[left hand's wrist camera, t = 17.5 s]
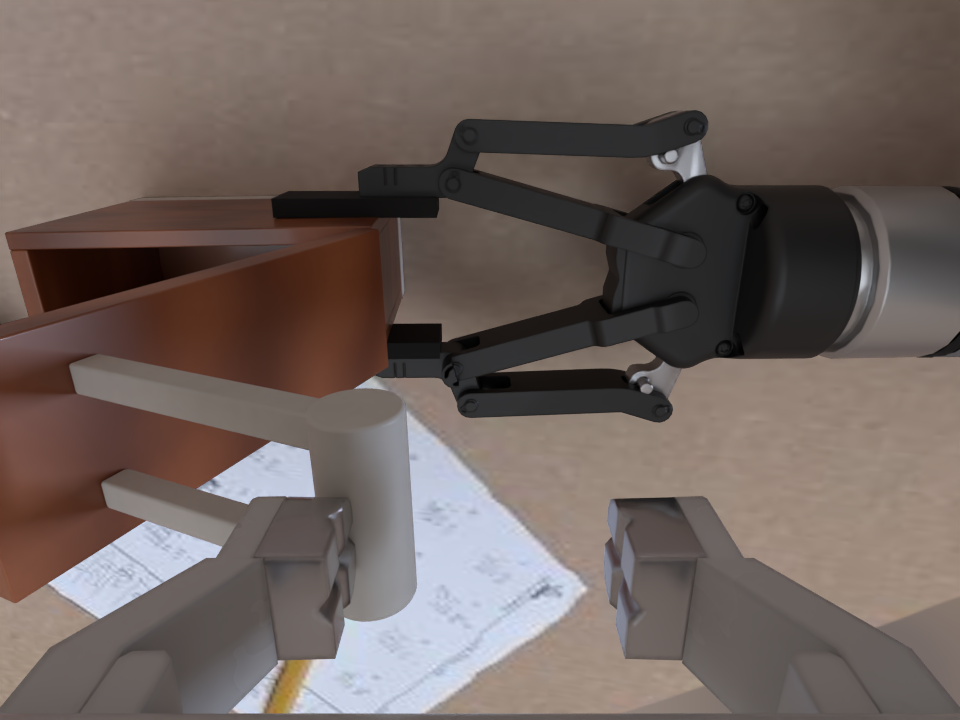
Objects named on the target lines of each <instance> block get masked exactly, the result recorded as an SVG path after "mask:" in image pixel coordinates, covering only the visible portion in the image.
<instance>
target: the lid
mask: <svg viewBox="0 0 960 720" xmlns="http://www.w3.org/2000/svg"><path fill="white" fill-rule="evenodd" d="M387 367H388V352H387V338H386V324H385V310H384V296H383V282H382V268H381V254H380V240H379V230H378V229H367V228H357V229H354V230H350V231H346V232H342V233H339V234H335V235H331V236H328V237H324V238H320V239H316V240H313V241H309V242H305V243H302V244H298V245H294V246H290V247H287V248H283V249H279V250H276V251H272V252H268V253H265V254H261V255H257V256H253V257H250V258H246V259H242V260H239V261H235V262H231V263H227V264H224V265H220V266H216V267H213V268H209V269H205V270H201V271H198V272H194V273H190V274H187V275H183V276H179V277H175V278H172V279H168V280H164V281H161V282H157V283H153V284H149V285H146V286H142V287H138V288H135V289H131V290H127V291H123V292H120V293H116V294H112V295H109V296H105V297H101V298H98V299H94V300H90V301H86V302H83V303H79V304H75V305H72V306H68V307H64V308H60V309H57V310H53V311H49V312H46V313H42V314H38V315H34V316H31V317H27V318H23V319H20V320H16V321H12V322H8V323H5V324H1V325H0V597H2V598H5V599H7V600H9V601H11V602H13V603H17V602H19V601H20V600H22V599H24V598H25V597H27V596H28V595H30V594H31V593H33V592H35V591H36V590H38V589H39V588H41V587H42V586H44V585H46V584H47V583H49V582H50V581H52V580H53V579H55V578H57V577H58V576H60V575H61V574H63V573H64V572H66V571H68V570H69V569H71V568H72V567H74V566H75V565H77V564H79V563H80V562H82V561H83V560H85V559H86V558H88V557H90V556H91V555H93V554H94V553H96V552H98V551H99V550H101V549H102V548H104V547H105V546H107V545H109V544H110V543H112V542H113V541H115V540H116V539H118V538H120V537H121V536H123V535H124V534H126V533H127V532H129V531H131V530H132V529H134V528H135V527H137V526H138V525H140V524H142V523H143V522H145V521H149V522H152V523H155V524H158V525H161V526H164V527H167V528H169V529H172V530H175V531H178V532H181V533H184V534H187V535H190V536H193V537H196V538H199V539H202V540H205V541H208V542H211V543H213V544H216V545H219V546H222V547H223V546H224V544H225V542H226V541H227V539H228V538H229V536H230V534H231V533H232V531H233V529H234V528H235V526H236V525H237V523H238V521H239V520H240V518H241V516H242V515H243V513H244V512H245V510H246V508H247V507H248V504H244V503H241V502H238V501H234V500H231V499H228V498H224V497H221V496H218V495H214V494H211V493H208V492H204V491H201V490H198V489H197V488H198V487H200V486H201V485H203V484H205V483H206V482H208V481H209V480H211V479H212V478H214V477H216V476H217V475H219V474H220V473H222V472H223V471H225V470H227V469H228V468H230V467H231V466H233V465H234V464H236V463H238V462H239V461H241V460H242V459H244V458H245V457H247V456H249V455H250V454H252V453H253V452H255V451H256V450H258V449H260V448H261V447H263V446H264V445H266V444H267V443H269V442H271V441H273V442H277V443H281V444H286V445H290V446H294V447H298V448H302V449H306V450H309V451H310V459H311V467H312V474H313V482H314V490H315V497H328V498H349V500H350V502H351V506H352V515H353V523H352V527H351V530H350V533H349V536H348V537H349V538H350V539H351V540H352V541H353V542H354V544H355V549H356V576H355V584H354V591H353V595H352V599H351V603H350V604H349V605H348V606H347V607H346V608H344V609H343V612H344V617H345V618H347V619H351V620H355V621H376V620H381V619H384V618H387V617H390V616H392V615H394V614H396V613H398V612H399V611H401V610H402V609H403V608H405V607H406V606H407V605H408V604H409V602H410V601H411V600H412V598H413V596H414V594H415V592H416V588H417V577H416V561H415V545H414V529H413V512H412V496H411V480H410V464H409V448H408V432H407V416H406V405H405V403H404V401H403V400H402V398H401V397H399V396H398V395H396V394H394V393H392V392H389V391H385V390H380V389H367V388H365V389H354V388H356V387H357V386H359V385H360V384H362V383H363V382H365V381H367V380H368V379H370V378H371V377H373V376H375V375H376V374H378V373H379V372H381V371H382V370H384V369H386V368H387Z"/></svg>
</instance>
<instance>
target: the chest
mask: <svg viewBox="0 0 960 720" xmlns="http://www.w3.org/2000/svg"><path fill="white" fill-rule="evenodd" d="M274 197H276V196H219V197H159V198H139V199H135V200H131V201H129V202H125V203H121V204H117V205H113V206H109V207H105V208H101V209H97V210H93V211H89V212H85V213H81V214H77V215H73V216H69V217H65V218H61V219H57V220H53V221H49V222H45V223H41V224H37V225H33V226H29V227H25V228H21V229H17V230H14V231H10V232H6V233H5V235H6V239H7V242H8V246H9V249H10V250H11V256H12V259H13V263H14V266H15V270H16V273H17V277H18V280H19V284H20V287H21V291H22V294H23V298H24V301H25V305H26V308H27V312H28V315H29V317H31V316H34V315H38V314H42V313H46V312H49V311H53V310H57V309H60V308H64V307H68V306H72V305H75V304H79V303H83V302H86V301H90V300H94V299H98V298H101V297H105V296H109V295H112V294H116V293H120V292H123V291H127V290H131V289H135V288H138V287H142V286H146V285H149V284H153V283H157V282H161V281H164V280H168V279H172V278H175V277H179V276H183V275H187V274H190V273H194V272H198V271H201V270H205V269H209V268H213V267H216V266H220V265H224V264H227V263H231V262H235V261H239V260H242V259H246V258H250V257H253V256H257V255H261V254H265V253H268V252H272V251H276V250H279V249H283V248H287V247H290V246H294V245H298V244H302V243H305V242H309V241H313V240H316V239H320V238H324V237H328V236H331V235H335V234H339V233H342V232H346V231H350V230H354V229H357V228H367V229H378V230H379V240H380V254H381V268H382V282H383V296H384V310H385V324H386V338H387V340H388V337H389V334H390V331H391V328H392V325H393V322H394V319H395V316H396V314H397V311H398V308H399V305H400V302H401V299H402V298H403V295H404V275H403V258H402V241H401V224H400V218H378V217H358V218H273V211H272V203H271V198H274Z"/></svg>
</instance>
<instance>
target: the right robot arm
mask: <svg viewBox="0 0 960 720" xmlns="http://www.w3.org/2000/svg"><path fill="white" fill-rule="evenodd" d="M707 130H708V120H707V118H706V116H705V115H704V114H703V113H702V112H700V111H697V110H691V111H672V112H668V113H665V114H662V115H660V116H657V117H654V118H651V119H648V120H645V121H642V122H639V123H636V124H633V125H620V124H593V123H565V122H538V121H510V120H483V119H466V120H463V121H461V122H460V123H459V124H458V125H457V126H456V128H455V131H454V134H453V137H452V140H451V143H450V146H449V149H448V152H447V155H446V156H445V158H444V159H443V160H442V161H440V162H439V163H436V164H431V165H373V166H370V167H368V168H365V169H363V170H361V171H359V172H358V181H359V191H288V192H286V193H283V194H281V195H279V196H276V197H274V198H271V203H272V211H273V218H358V217H378V218H437V215H438V211H439V198H448V199H451V200H455V201H458V202H462V203H466V204H469V205H473V206H476V207H480V208H483V209H487V210H490V211H494V212H497V213H501V214H504V215H508V216H512V217H515V218H519V219H522V220H526V221H529V222H533V223H536V224H540V225H543V226H547V227H550V228H554V229H558V230H561V231H565V232H568V233H572V234H575V235H579V236H582V237H586V238H589V239H593V240H596V241H598V242H600V243H603V244H606V255H607V260H608V266H609V271H608V274H607V277H606V280H605V283H604V286H603V295H601V296H597V297H594V298H590V299H587V300H585V301H583V302H582V303H581V304H579V305H577V306H573V307H569V308H566V309H562V310H558V311H555V312H551V313H547V314H544V315H540V316H536V317H532V318H529V319H525V320H521V321H518V322H514V323H510V324H507V325H503V326H499V327H496V328H492V329H488V330H484V331H481V332H477V333H473V334H470V335H466V336H462V337H459V338H455V339H452V340H450V341H448V342H442V324H393V325H392V328H391V331H390V334H389V337H388V340H387V352H388V367H387V368H386V369H384V370H382V371H381V372H379V373H378V374H376V376H378V377H381V378H395V377H396V378H404V377H405V378H440V379H442V380H443V382H444V384H445V385H447V386H448V387H450V388H451V389H452V392H453V394H454V396H455V399H456V401H457V407H458V411H459V412H460V413H461V415H463V416H465V417H469V418H478V417H505V416H531V415H557V414H584V413H610V412H623V413H626V414H629V415H633V416H636V417H639V418H643V419H646V420H649V421H653V422H663V421H666V420H667V419H669V417H670V416H671V415H672V411H673V407H672V404H671V403H670V402H669V400H668V397H669V395H670V393H671V390H672V388H673V386H674V384H675V382H676V380H677V378H678V376H679V374H680V371H681V369H682V368H690V367H693V366H695V365H697V364H699V363H701V362H703V361H705V360H708V359H712V358H733V359H783V358H812V357H815V356H817V355H820V356H823V357H827V358H831V359H839V358H888V357H931V358H932V357H960V187H950V186H838V187H836V188H833V189H829V188H827V187H824V186H817V185H740V186H738V185H729V184H726V183H725V182H723V181H721V180H720V179H718V178H717V177H715V176H711V175H707V171H706V166H705V160H704V155H703V150H702V144H701V139H702V138H703V137H704V136H705V135H706V132H707ZM480 152H481V153H510V154H539V155H568V156H597V157H626V158H637V157H645V158H646V161H647V163H648V164H649V166H651V167H652V168H656V169H659V170H671V171H672V172H673V173H674V174H675V176H676V179H677V180H676V181H674V182H673V183H671V184H670V185H668V186H667V187H666V188H664V189H663V190H661V191H660V192H658V193H657V194H656V195H654V196H653V197H651V198H650V199H648V200H647V201H646V202H644V203H643V204H641V205H640V206H638V207H637V208H636V209H634V210H633V211H631V212H630V213H626V212H622V211H619V210H615V209H612V208H609V207H605V206H602V205H598V204H592V203H589V202H585V201H582V200H578V199H575V198H571V197H568V196H564V195H561V194H558V193H554V192H551V191H547V190H544V189H540V188H537V187H533V186H530V185H526V184H523V183H520V182H516V181H513V180H509V179H506V178H502V177H499V176H495V175H492V174H489V173H485V172H482V171H478V170H475V169H474V167H475V164H476V161H477V158H478V156H479V153H480ZM630 340H635V341H636V342H638V343H639V344H640V345H642V346H643V347H644V348H646V349H647V350H649V351H650V352H651V353H653V354H654V355H655V356H656V358H655V359H654V360H653V361H651V362H650V363H647V364H632V365H630V366H629V367H628V369H627V371H622V370H616V369H575V370H549V371H522V372H496V371H500V370H504V369H508V368H511V367H515V366H519V365H523V364H527V363H530V362H534V361H538V360H542V359H545V358H549V357H553V356H557V355H560V354H564V353H568V352H572V351H576V350H579V349H583V348H587V347H591V346H600V347H607V346H611V345H615V344H619V343H623V342H627V341H630ZM493 372H495V373H493Z"/></svg>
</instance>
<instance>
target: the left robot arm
mask: <svg viewBox="0 0 960 720" xmlns="http://www.w3.org/2000/svg"><path fill="white" fill-rule="evenodd" d="M352 523H353V515H352V506H351V502H350V500H349V498H328V497H288V498H287V497H285V496H273V497H256V498H254V499H252V500H251V502H250V504H249V505H248V507H247V508H246V510H245V512H244V513H243V515H242V516H241V518H240V520H239V521H238V523H237V525H236V526H235V528H234V529H233V531H232V533H231V534H230V536H229V538H228V539H227V541H226V542H225V544H224V546H223V547H222V549H221V551H220V552H219V554H218V555H217V557H216V558H206V559H204V560H202V561H200V562H199V563H197V564H195V565H193V566H192V567H190V568H188V569H186V570H185V571H183V572H181V573H179V574H178V575H176V576H174V577H172V578H171V579H169V580H167V581H165V582H164V583H162V584H160V585H158V586H157V587H155V588H153V589H152V590H150V591H148V592H146V593H145V594H143V595H141V596H139V597H138V598H136V599H134V600H132V601H131V602H129V603H127V604H125V605H124V606H122V607H120V608H118V609H117V610H115V611H113V612H111V613H110V614H108V615H106V616H104V617H103V618H101V619H99V620H97V621H96V622H94V623H92V624H90V625H89V626H87V627H85V628H83V629H82V630H80V631H78V632H76V633H75V634H73V635H71V636H69V637H68V638H66V639H64V640H62V641H61V642H59V643H57V644H55V645H54V646H52V647H50V648H49V649H48V650H47V652H46V653H45V654H44V655H43V657H42V658H41V659H40V660H39V661H38V663H37V664H36V665H35V666H34V667H33V669H32V670H31V671H30V672H29V673H28V675H27V676H26V677H25V678H24V679H23V681H22V682H21V683H20V684H19V685H18V687H17V688H16V689H15V690H14V691H13V693H12V694H11V695H10V696H9V698H8V699H7V700H6V701H5V702H4V704H3V705H2V706H1V707H0V720H960V707H959V706H958V704H957V703H956V702H955V701H954V699H953V698H952V697H951V696H950V695H949V693H948V692H947V691H946V690H945V689H944V687H943V686H942V685H941V684H940V683H939V681H938V680H937V679H936V678H935V676H934V675H933V674H932V673H931V672H930V670H929V669H928V668H927V667H926V666H925V664H924V663H923V662H922V661H921V659H920V658H919V657H918V656H917V655H916V653H915V652H914V651H913V650H912V649H911V648H909V647H908V646H906V645H904V644H903V643H901V642H899V641H897V640H895V639H894V638H892V637H890V636H889V635H887V634H885V633H883V632H882V631H880V630H878V629H876V628H875V627H873V626H871V625H869V624H868V623H866V622H864V621H862V620H861V619H859V618H857V617H856V616H854V615H852V614H850V613H849V612H847V611H845V610H843V609H842V608H840V607H838V606H836V605H835V604H833V603H831V602H829V601H828V600H826V599H824V598H822V597H821V596H819V595H817V594H816V593H814V592H812V591H810V590H809V589H807V588H805V587H803V586H802V585H800V584H798V583H796V582H795V581H793V580H791V579H789V578H788V577H786V576H784V575H782V574H781V573H779V572H777V571H775V570H774V569H772V568H770V567H769V566H767V565H765V564H763V563H762V562H760V561H758V560H756V559H755V558H744V557H743V555H742V554H741V552H740V550H739V549H738V547H737V546H736V544H735V542H734V541H733V539H732V538H731V536H730V534H729V533H728V531H727V530H726V528H725V526H724V525H723V523H722V522H721V520H720V518H719V517H718V515H717V514H716V512H715V510H714V509H713V507H712V506H711V504H710V502H709V501H708V499H707V498H705V497H703V496H691V497H669V498H629V499H610V503H609V507H608V515H607V523H608V526H609V529H610V532H611V536H612V537H611V538H610V539H609V540H608V541H607V543H606V544H605V554H604V573H605V584H606V590H607V595H608V598H609V602H610V604H611V605H612V606H613V607H615V608H616V609H617V614H616V628H617V632H618V635H619V639H620V642H621V646H622V649H623V653H624V657H625V659H653V660H683V661H682V663H683V664H684V665H685V666H686V667H687V668H688V669H689V670H690V671H691V672H692V673H693V674H694V675H695V676H696V677H697V678H698V679H699V680H700V681H701V682H702V683H703V684H704V685H705V686H706V687H707V688H708V689H709V690H710V691H711V692H712V693H713V694H714V695H715V696H716V697H717V698H718V699H719V700H720V701H721V702H722V703H723V704H724V705H725V706H726V707H727V708H728V709H729V710H730V711H731V712H732V713H733V714H228V713H229V712H230V711H231V710H232V709H233V708H234V707H235V706H236V705H237V704H238V703H239V702H240V701H241V700H242V699H243V698H244V697H245V696H246V695H247V694H248V693H249V692H250V691H251V690H252V689H253V688H254V687H255V686H256V685H257V684H258V683H259V682H260V681H261V680H262V679H263V678H264V677H265V676H266V675H267V674H268V673H269V672H270V671H271V670H272V669H273V668H274V667H275V666H276V665H277V664H278V661H277V660H306V659H335V658H336V654H337V650H338V647H339V643H340V640H341V636H342V632H343V629H344V625H345V624H344V612H343V609H344V608H346V607H347V606H348V605H349V604H350V603H351V599H352V595H353V591H354V584H355V576H356V549H355V544H354V542H353V541H352V540H351V539H350V538H349V537H348V536H349V533H350V530H351V527H352Z"/></svg>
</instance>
